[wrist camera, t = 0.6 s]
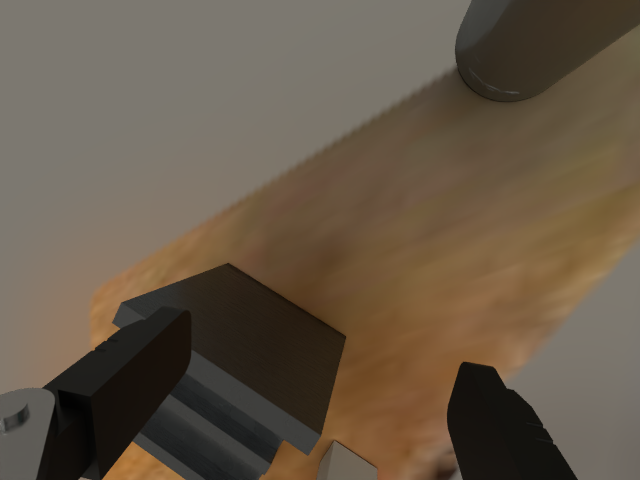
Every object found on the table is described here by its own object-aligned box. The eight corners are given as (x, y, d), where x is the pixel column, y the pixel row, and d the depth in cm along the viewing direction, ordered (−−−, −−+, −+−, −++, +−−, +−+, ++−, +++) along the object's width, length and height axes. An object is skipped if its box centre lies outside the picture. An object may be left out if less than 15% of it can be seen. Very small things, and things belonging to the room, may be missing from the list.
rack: (223, 260, 33) (113, 297, 19) (346, 336, 32) (321, 435, 18) (135, 430, 37) (-7, 560, 24) (240, 506, 36) (154, 692, 22)
